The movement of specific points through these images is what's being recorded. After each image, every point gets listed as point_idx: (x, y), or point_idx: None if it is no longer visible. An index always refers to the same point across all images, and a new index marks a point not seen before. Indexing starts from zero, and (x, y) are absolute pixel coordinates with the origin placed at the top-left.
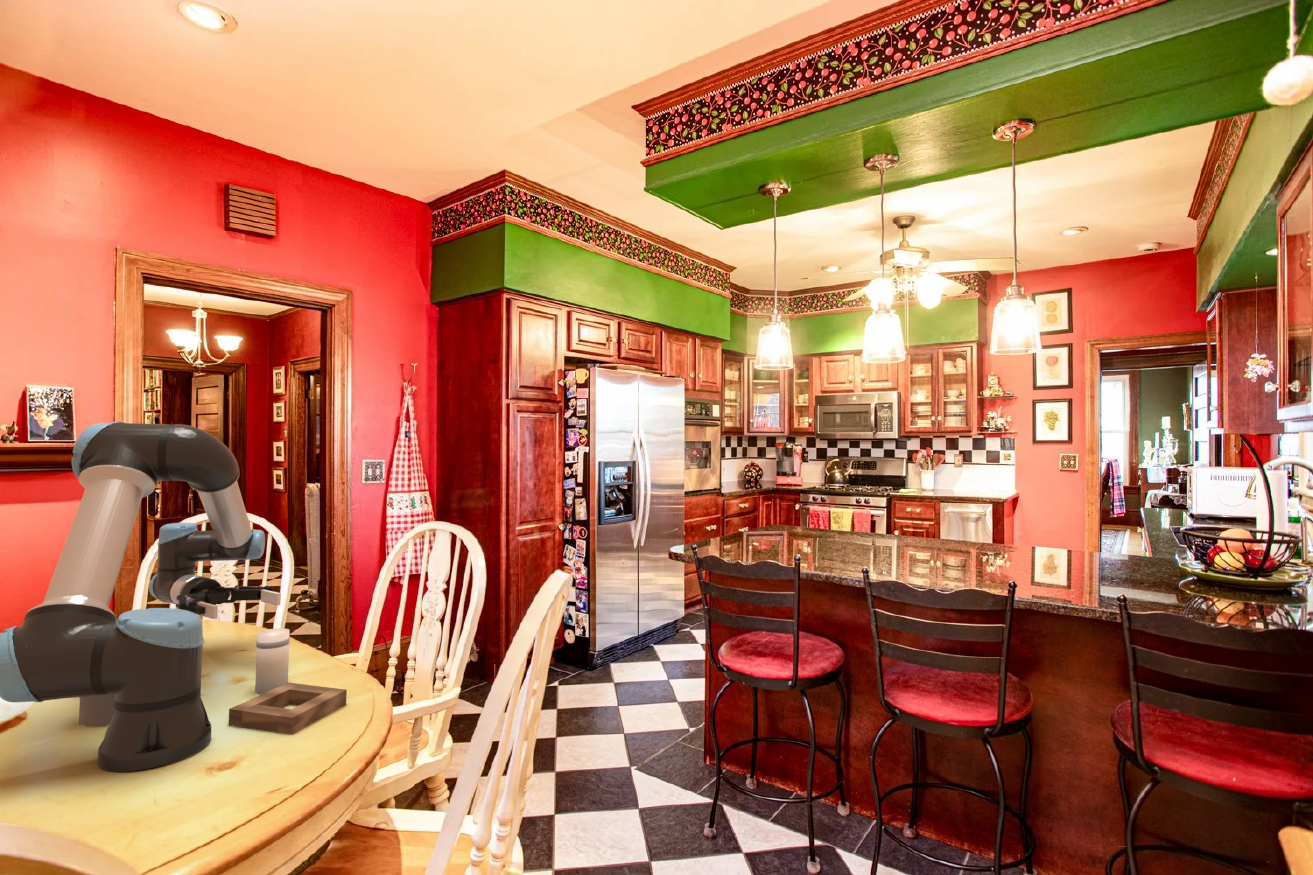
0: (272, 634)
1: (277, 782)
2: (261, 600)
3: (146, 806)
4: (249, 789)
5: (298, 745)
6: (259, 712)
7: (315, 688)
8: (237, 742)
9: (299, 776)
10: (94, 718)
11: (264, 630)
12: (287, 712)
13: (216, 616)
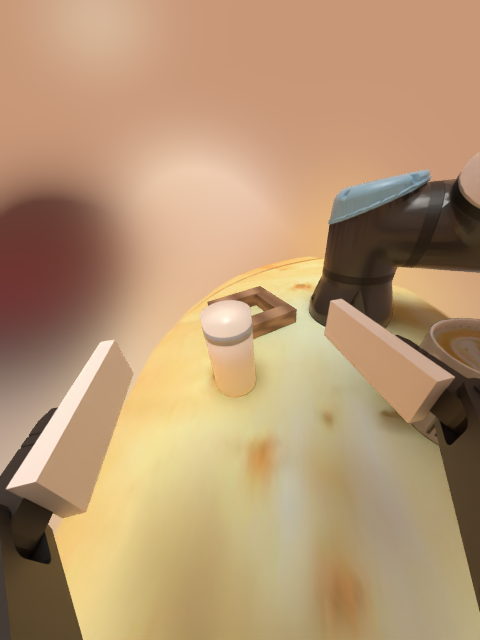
0: (232, 305)
1: (280, 272)
2: (84, 499)
3: None
4: (292, 272)
5: None
6: (276, 297)
7: None
8: (292, 301)
9: (271, 272)
10: None
11: (231, 325)
12: (259, 291)
13: (327, 330)
